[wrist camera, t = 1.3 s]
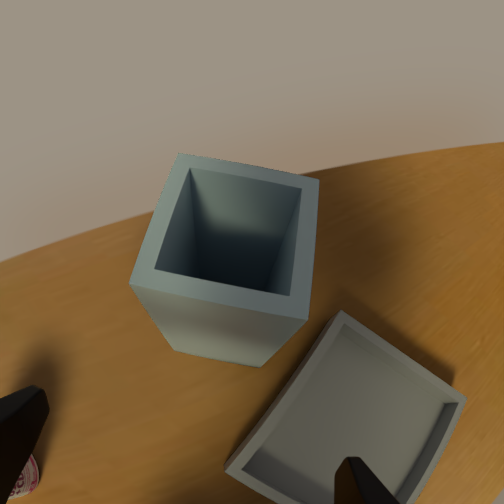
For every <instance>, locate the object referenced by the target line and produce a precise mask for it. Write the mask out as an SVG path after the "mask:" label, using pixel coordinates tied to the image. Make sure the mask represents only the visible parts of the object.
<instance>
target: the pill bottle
mask: <svg viewBox="0 0 504 504" xmlns="http://www.w3.org/2000/svg"><path fill="white" fill-rule="evenodd" d="M38 482H39V472H38V467H37V464H36V461H35V459H34V457H33V455H32V454H31V456H30V458H29V460H28V461H27V463H26V465H25V467H24V469H23V471H22V473H21V475H20V477H19V478H18V480H17V482H16V484H15V486H14V488H13V490H12V492H11V494H10V496H9V498H8V500H10V499H13V498H17V497H20V496H23V495H27V494H29V493H31V492H33V491H34V490H35V489H36V487H37V485H38Z"/></svg>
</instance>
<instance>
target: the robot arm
mask: <svg viewBox="0 0 504 504" xmlns="http://www.w3.org/2000/svg"><path fill="white" fill-rule="evenodd" d="M48 414H49V404H48V400H47V397H46V393H45V391H44V389H42V388H40V387H38V386H36V385H30V386H28V387H26V388H23V389H21V390H19V391H16V392H14V393H12V394H10V395H7V396H5V397H2V398H0V504H6V502H7V500H8V498H9V496H10V494H11V492H12V490H13V488H14V486H15V484H16V482H17V480H18V478H19V477H20V475H21V473H22V471H23V469H24V467H25V465H26V463H27V461H28V460H29V458H30V456H31V454H32V452H33V450H34V448H35V445H36V443H37V441H38V438H39V436H40V433H41V431H42V428H43V426H44V424H45V421H46V419H47V417H48ZM334 504H400V503H399V501H398V500H397V499H396V498H395V497H394V496H393V495H392V494H391V492H390V491H389V490H388V489H387V488H386V487H385V486H384V484H383V483H382V482H381V481H380V480H379V479H378V477H377V476H376V475H375V474H374V473H373V472H372V470H371V469H370V468H369V467H368V466H367V465H366V463H365V462H364V461H363V460H362V459H361V458H360V457H357V456H348V457H346V458H345V459H344V460H343V461H342V463H341V464H340V466H339V467H338V469H337V470H336V472H335V476H334Z"/></svg>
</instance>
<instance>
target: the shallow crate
mask: <svg viewBox="0 0 504 504" xmlns="http://www.w3.org/2000/svg"><path fill="white" fill-rule="evenodd" d="M466 400H467V397H465V396H464V395H462V394H461V393H460V392H458V391H457V390H455V389H454V388H452V387H451V386H450V385H448V384H447V383H445V382H444V381H442V380H441V379H440V378H438V377H437V376H435V375H434V374H432V373H431V372H430V371H428V370H427V369H425V368H424V367H422V366H421V365H420V364H418V363H417V362H415V361H414V360H412V359H411V358H410V357H408V356H407V355H405V354H404V353H402V352H401V351H400V350H398V349H397V348H395V347H394V346H392V345H391V344H390V343H388V342H387V341H385V340H384V339H382V338H381V337H379V336H378V335H377V334H375V333H374V332H372V331H371V330H369V329H368V328H367V327H365V326H364V325H362V324H361V323H359V322H358V321H357V320H355V319H354V318H352V317H351V316H349V315H348V314H346V313H345V312H344V311H342V310H340V311H339V312H337V313H336V314H335V315H334V316H333V317H332V318H331V319H329V321H328V322H327V324H326V325H325V327H324V329H323V330H322V332H321V333H320V335H319V336H318V338H317V339H316V341H315V342H314V344H313V345H312V347H311V349H310V350H309V352H308V353H307V354H306V356H305V357H304V359H303V360H302V362H301V363H300V365H299V366H298V368H297V369H296V371H295V372H294V373H293V375H292V376H291V378H290V379H289V381H288V382H287V383H286V385H285V386H284V388H283V389H282V390H281V392H280V393H279V395H278V396H277V397H276V399H275V400H274V401H273V403H272V404H271V405H270V407H269V408H268V410H267V411H266V412H265V414H264V415H263V416H262V418H261V419H260V420H259V421H258V423H257V424H256V425H255V427H254V428H253V429H252V431H251V432H250V433H249V434H248V436H247V437H246V438H245V439H244V441H243V442H242V443H241V444H240V446H239V447H238V448H237V449H236V451H235V452H234V453H233V454H232V456H231V457H230V458H229V459H228V460H227V462H226V463H225V464H224V472H225V473H227V474H229V475H230V476H232V477H233V478H235V479H236V480H238V481H240V482H241V483H243V484H245V485H246V486H248V487H250V488H251V489H253V490H255V491H256V492H258V493H260V494H262V495H263V496H265V497H267V498H269V499H271V500H272V501H274V502H276V503H278V504H334V476H335V472H336V470H337V469H338V467H339V466H340V464H341V463H342V461H343V460H344V459H345V458H346V457H348V456H357V457H360V458H361V459H362V460H363V461H364V462H365V463H366V465H367V466H368V467H369V468H370V469H371V470H372V472H373V473H374V474H375V475H376V476H377V477H378V479H379V480H380V481H381V482H382V483H383V484H384V486H385V487H386V488H387V489H388V490H389V491H390V492H391V494H392V495H393V496H394V497H395V498H396V499H397V500H398V501H399V503H400V504H414V503H415V501H416V499H417V498H418V496H419V495H420V493H421V491H422V490H423V488H424V486H425V485H426V483H427V481H428V479H429V478H430V476H431V474H432V472H433V471H434V469H435V467H436V465H437V463H438V461H439V459H440V457H441V456H442V454H443V452H444V450H445V448H446V446H447V444H448V441H449V439H450V437H451V435H452V433H453V431H454V429H455V426H456V424H457V422H458V420H459V417H460V415H461V413H462V410H463V408H464V405H465V403H466Z"/></svg>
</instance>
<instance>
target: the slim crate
mask: <svg viewBox="0 0 504 504" xmlns="http://www.w3.org/2000/svg"><path fill="white" fill-rule="evenodd" d="M318 196H319V179H315V178H311V177H306V176H302V175H297V174H292V173H287V172H283V171H278V170H273V169H268V168H263V167H258V166H253V165H248V164H242V163H237V162H231V161H225V160H220V159H213V158H207V157H201V156H195V155H188V154H181V153H178V155H177V158H176V160H175V162H174V165H173V167H172V169H171V172H170V174H169V176H168V179H167V181H166V184H165V186H164V188H163V191H162V193H161V196H160V198H159V201H158V204H157V206H156V208H155V211H154V214H153V216H152V219H151V222H150V224H149V227H148V230H147V232H146V235H145V238H144V241H143V243H142V246H141V249H140V252H139V255H138V258H137V260H136V263H135V266H134V269H133V272H132V275H131V278H130V281H129V285H130V286H131V288H132V289H133V291H134V292H135V294H136V296H137V297H138V299H139V300H140V302H141V303H142V305H143V306H144V308H145V309H146V311H147V312H148V314H149V315H150V317H151V318H152V320H153V321H154V323H155V324H156V326H157V327H158V328H159V330H160V331H161V333H162V334H163V336H164V337H165V338H166V340H167V341H168V343H169V344H170V345H171V347H172V348H173V350H174V351H178V352H183V353H187V354H191V355H196V356H200V357H205V358H210V359H215V360H220V361H225V362H230V363H235V364H241V365H246V366H252V367H257V368H260V367H261V366H262V365H263V364H264V363H265V362H266V361H268V360H269V359H270V358H271V357H272V356H273V355H274V354H275V353H276V352H277V351H278V350H279V349H280V348H281V347H282V346H283V345H284V344H285V343H286V342H287V341H288V340H289V339H290V338H291V337H292V336H293V335H294V334H295V333H296V332H297V331H298V330H299V329H300V328H301V327H302V326H303V325H304V324H305V323H306V322H307V321H308V315H309V306H310V297H311V287H312V276H313V265H314V253H315V240H316V227H317V212H318Z"/></svg>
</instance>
